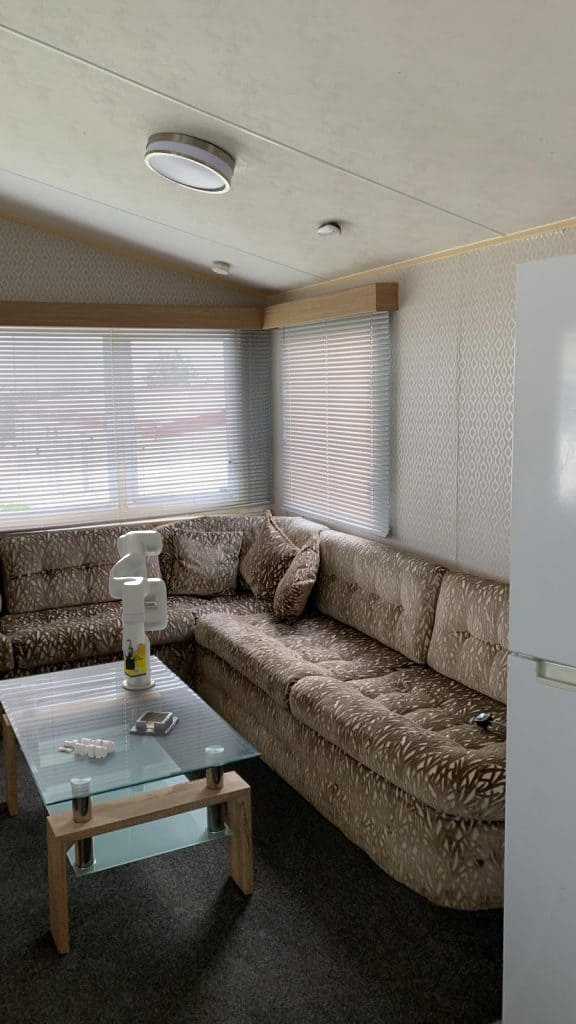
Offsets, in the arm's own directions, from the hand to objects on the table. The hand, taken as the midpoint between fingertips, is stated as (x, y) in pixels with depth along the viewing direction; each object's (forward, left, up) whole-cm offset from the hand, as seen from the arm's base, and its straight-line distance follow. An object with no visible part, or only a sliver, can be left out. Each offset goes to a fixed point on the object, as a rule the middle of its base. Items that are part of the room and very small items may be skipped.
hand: (135, 665), depth 297 cm
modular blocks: (+26, -8, -21) cm, 35 cm away
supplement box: (0, 0, -3) cm, 3 cm away
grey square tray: (+4, +8, -20) cm, 22 cm away
